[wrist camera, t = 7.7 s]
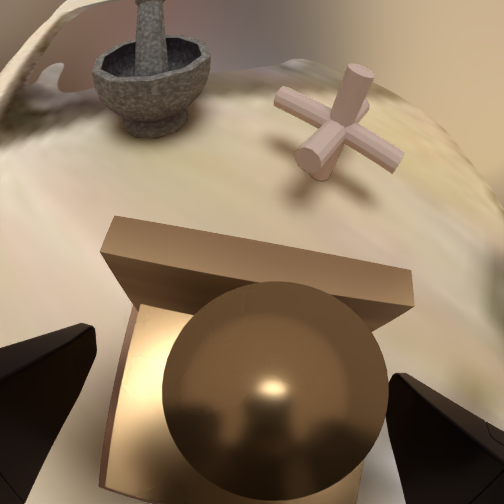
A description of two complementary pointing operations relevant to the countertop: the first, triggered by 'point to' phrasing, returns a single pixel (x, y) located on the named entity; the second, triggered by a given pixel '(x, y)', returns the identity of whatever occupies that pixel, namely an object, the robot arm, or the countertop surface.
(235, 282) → the bronze stepped stand
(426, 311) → the countertop surface
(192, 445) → the bronze perfume bottle
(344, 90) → the pipe connector
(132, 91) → the mortar and pestle
